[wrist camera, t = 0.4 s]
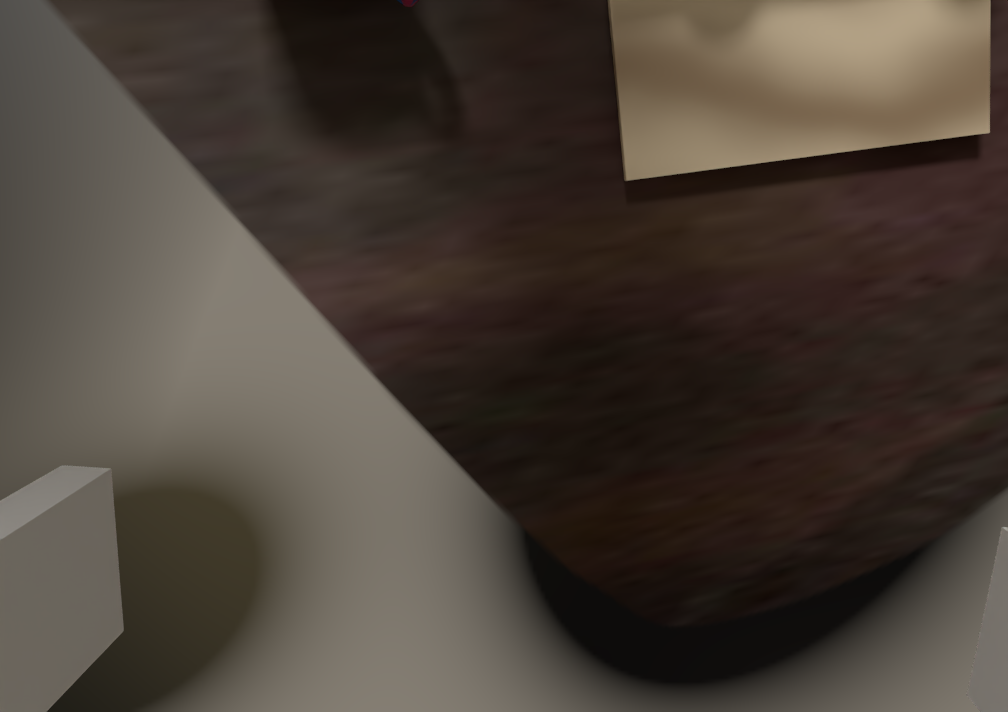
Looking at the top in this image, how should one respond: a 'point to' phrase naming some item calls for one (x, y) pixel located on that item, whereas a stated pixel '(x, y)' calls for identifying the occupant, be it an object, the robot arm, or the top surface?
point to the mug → (408, 2)
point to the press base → (793, 78)
